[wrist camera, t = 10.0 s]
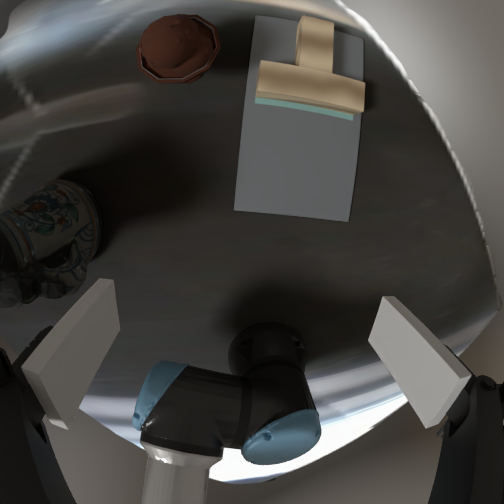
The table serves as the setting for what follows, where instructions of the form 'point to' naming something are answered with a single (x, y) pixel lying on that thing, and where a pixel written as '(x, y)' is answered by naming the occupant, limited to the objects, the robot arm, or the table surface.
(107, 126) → the table surface
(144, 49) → the ice cream bowl
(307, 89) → the t block
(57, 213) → the beer stein
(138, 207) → the table surface
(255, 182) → the push board
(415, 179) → the table surface
